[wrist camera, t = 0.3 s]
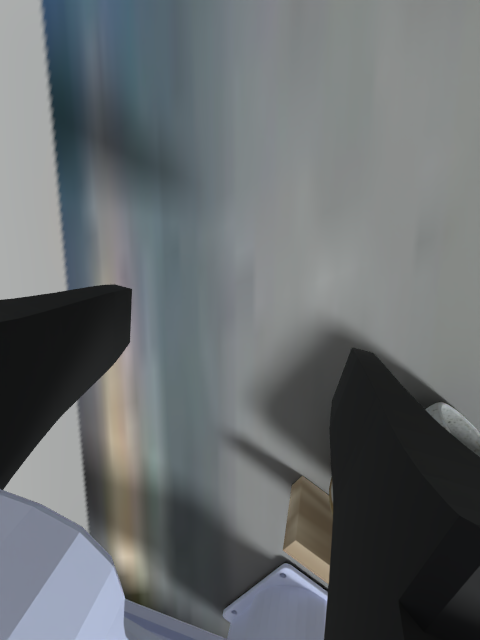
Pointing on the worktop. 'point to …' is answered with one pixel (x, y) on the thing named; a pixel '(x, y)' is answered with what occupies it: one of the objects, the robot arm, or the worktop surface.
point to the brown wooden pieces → (309, 528)
